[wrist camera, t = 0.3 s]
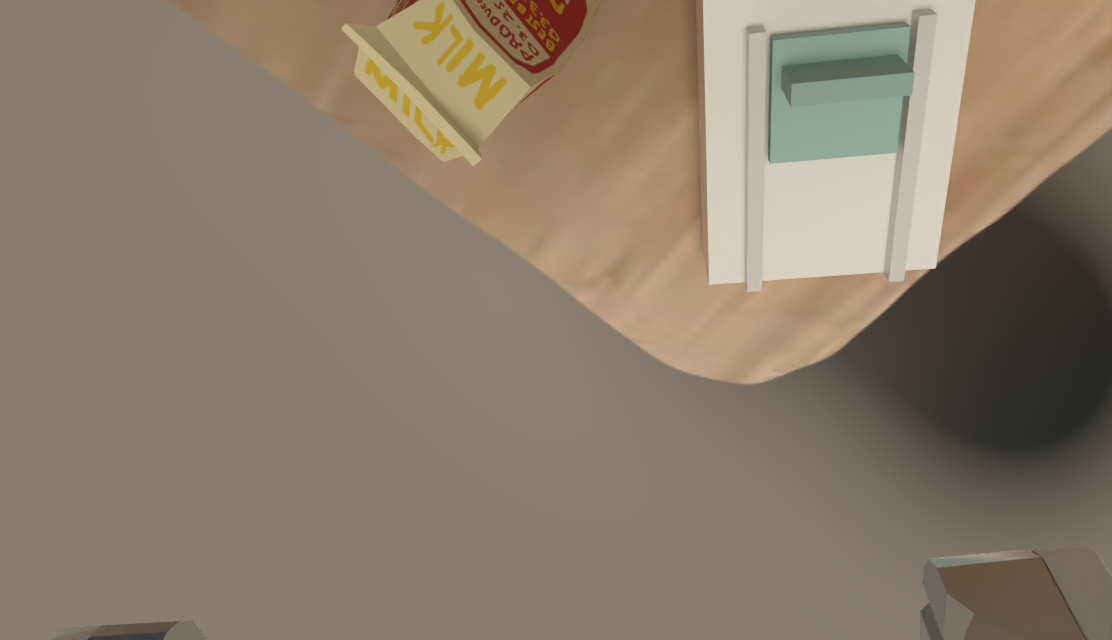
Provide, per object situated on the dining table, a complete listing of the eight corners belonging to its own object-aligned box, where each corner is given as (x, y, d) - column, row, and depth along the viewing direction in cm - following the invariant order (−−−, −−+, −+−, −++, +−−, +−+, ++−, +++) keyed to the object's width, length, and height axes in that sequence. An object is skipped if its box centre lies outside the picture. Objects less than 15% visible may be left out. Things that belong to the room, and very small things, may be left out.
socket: (694, -27, 49) (704, -1, 44) (948, -56, 47) (989, -32, 42) (702, 246, 59) (710, 294, 53) (911, 230, 57) (941, 278, 52)
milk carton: (599, 3, 50) (593, 128, 33) (487, 102, 54) (432, 258, 37) (493, -128, 46) (427, -61, 30) (381, -13, 50) (267, 103, 34)
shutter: (770, 36, 45) (782, 57, 42) (905, 22, 45) (928, 42, 41) (767, 158, 49) (778, 186, 46) (892, 147, 48) (912, 174, 45)
